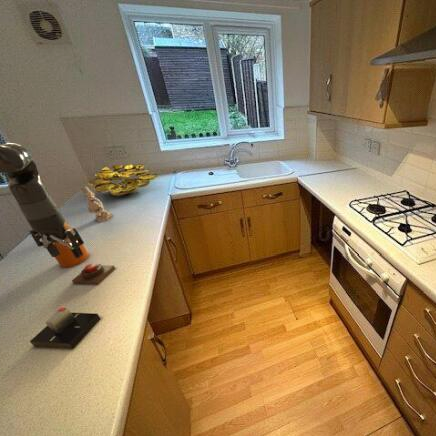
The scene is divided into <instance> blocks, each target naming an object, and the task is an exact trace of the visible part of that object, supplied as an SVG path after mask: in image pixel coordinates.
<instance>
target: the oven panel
mask: <svg viewBox="0 0 436 436" xmlns="http://www.w3.org/2000/svg"><path fill="white" fill-rule="evenodd" d="M71 314H72V315H73V317H74V318H75V321H74V322H73V323H72V324H71V325H70V326H69V327H67V328H66V329H65V330H64V331H63V332H62V333H61V334H54V333H53V332H52V330H51V329H50V328H49V327H48V325H47V324H46V326H45V327H44V328H42V330H40V332H38V333H37V334H36V335H35V336H34V337H33V338H31V339H30V341H29V343H30V344H31V345H32V346H33V347H34V348H48V349H64V350H65V349H67V350H74V349H75V348H76V346H78V344H79V343H81V341H82V340H83V339H84V338H85V337H86V336H87V335H88V334H89V332H91V330H92V329H93V328H94V327H95V326H96V325H97V324H98V323H99V321H100V320H101V317H100V315H99V313H92V312H71Z"/></svg>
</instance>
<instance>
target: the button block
mask: <svg viewBox="0 0 436 436" xmlns="http://www.w3.org/2000/svg"><path fill="white" fill-rule="evenodd" d="M95 264H96V266H97V269H96V270H95V271H93V272H90V273H86V271H85V269H84V268H83V269H81V272H80V273H79V274H78V275H77V276H75V277H74V278H73V279H71V282H72V284H73V285H100V283H102V282H103V281H104V280H105V279H106V278H107V277H108V276H109V275H110V274H111V273H112V272H114V271H115V270H116V267H115V265H109V264H108V265H107V264H106V265H105V264H101V263H95Z"/></svg>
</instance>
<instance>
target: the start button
mask: <svg viewBox="0 0 436 436" xmlns="http://www.w3.org/2000/svg"><path fill="white" fill-rule="evenodd" d="M96 264H97V263H90V264H87V265H86V266H84V268H83V269H85V271H86V273H90V272H93V271H95V270H96V269H97V266H96Z"/></svg>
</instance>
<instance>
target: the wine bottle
mask: <svg viewBox="0 0 436 436" xmlns="http://www.w3.org/2000/svg"><path fill="white" fill-rule="evenodd" d="M68 224H69V223H68V222H67V221H66V220H65V223H64V227H65V228H66V229H67V230H71V229H72V228H71V227H70V226H69V225H68ZM68 239H69V238H68V237H67V239H66V240H64V241H67V240H68ZM76 241H77V242H78V240H76ZM69 243H70V244H71V245H73V244H72V243H71V242H69ZM53 245H56V247H57V249H58V250H59V252H60V254H59V255H58V256H56V257H54V259H56V261H57V263H58V264H59V265H60V266H61V267H63V268H71V267H75V266H77V265H80V264H82V263H84V262H85V261H87V259H88V258H89V254H88V252H87V249H86V247H85V246H84V245H85V244H82V245H81V246H79V247H80V249H81V251H82V252H83V255H82V256H81V257H80V258H75V257H74V255H73V253H72V251H71V249H70V248H69V247H67V246H66V245H62V244H60V243H57V242H54V244H53Z"/></svg>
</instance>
